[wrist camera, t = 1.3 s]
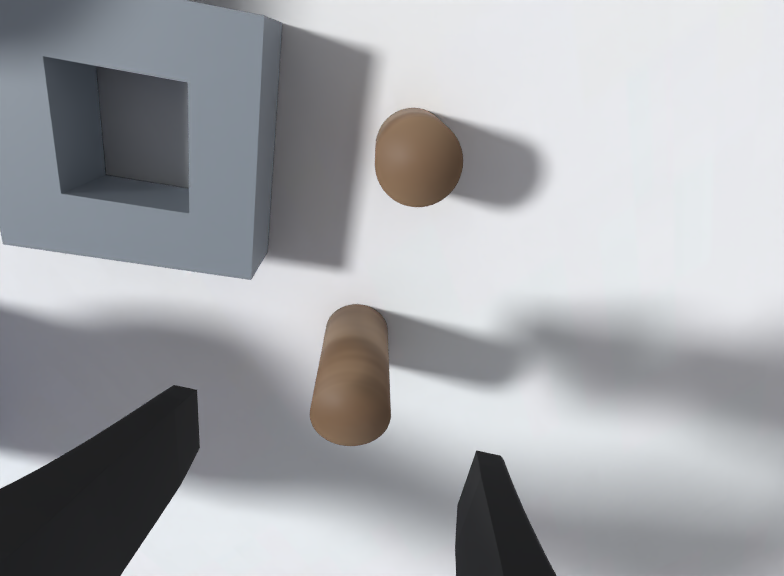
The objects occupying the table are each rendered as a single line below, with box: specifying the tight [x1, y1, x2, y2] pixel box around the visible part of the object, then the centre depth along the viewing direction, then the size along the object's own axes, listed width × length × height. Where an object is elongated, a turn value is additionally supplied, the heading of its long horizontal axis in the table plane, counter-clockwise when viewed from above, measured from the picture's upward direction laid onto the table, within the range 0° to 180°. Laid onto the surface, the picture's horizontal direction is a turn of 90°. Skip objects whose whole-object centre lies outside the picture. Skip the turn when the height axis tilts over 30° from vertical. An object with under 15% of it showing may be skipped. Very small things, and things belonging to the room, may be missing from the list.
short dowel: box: [375, 108, 463, 207], centre depth 17 cm, size 3×3×4 cm
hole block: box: [0, 0, 282, 280], centre depth 17 cm, size 9×9×3 cm
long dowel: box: [310, 304, 391, 446], centre depth 20 cm, size 3×3×6 cm
